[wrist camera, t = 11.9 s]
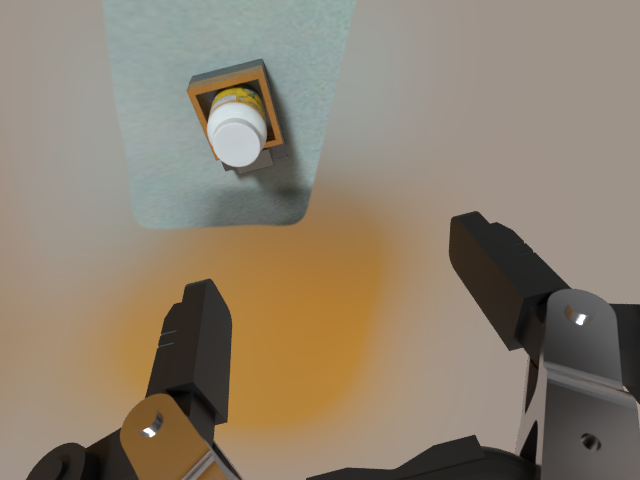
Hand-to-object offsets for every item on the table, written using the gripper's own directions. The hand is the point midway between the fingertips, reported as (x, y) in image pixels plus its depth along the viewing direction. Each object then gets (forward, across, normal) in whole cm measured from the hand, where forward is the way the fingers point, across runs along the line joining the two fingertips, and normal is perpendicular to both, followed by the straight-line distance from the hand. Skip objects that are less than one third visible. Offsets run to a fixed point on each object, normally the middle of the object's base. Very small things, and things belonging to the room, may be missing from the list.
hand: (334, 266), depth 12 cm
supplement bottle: (+30, +5, +3) cm, 31 cm away
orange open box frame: (+33, +5, +4) cm, 34 cm away
